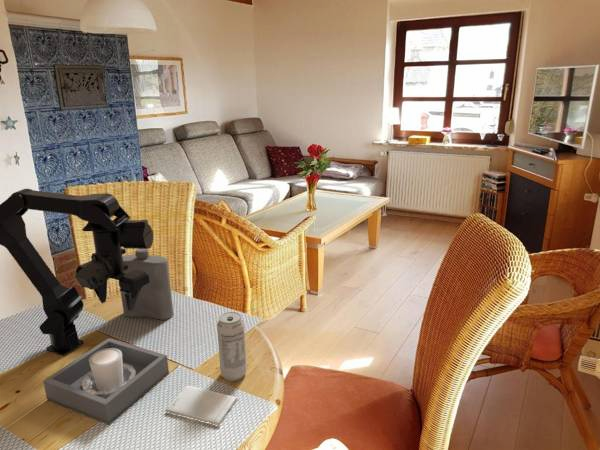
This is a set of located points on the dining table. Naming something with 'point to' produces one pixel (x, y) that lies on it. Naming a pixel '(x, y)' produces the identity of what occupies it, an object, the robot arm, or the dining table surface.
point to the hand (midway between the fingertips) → (117, 306)
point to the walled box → (70, 395)
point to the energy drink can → (231, 346)
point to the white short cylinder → (107, 368)
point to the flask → (150, 286)
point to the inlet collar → (106, 394)
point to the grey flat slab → (202, 405)
